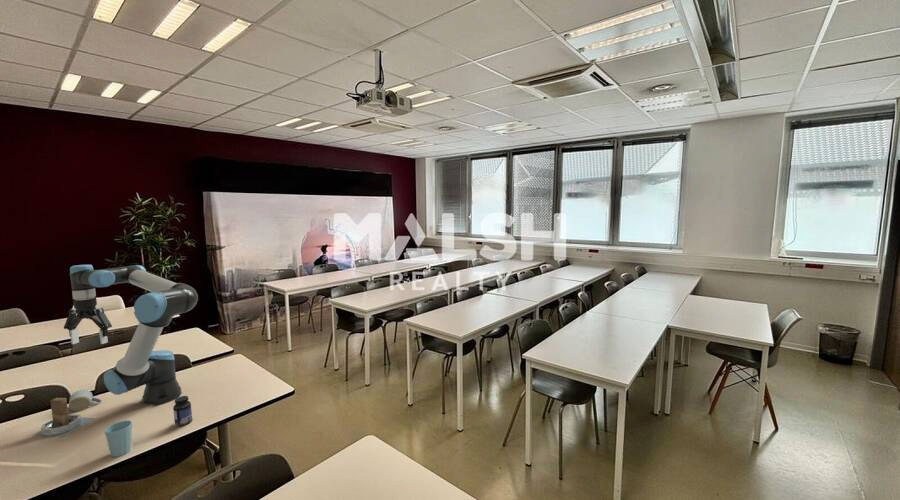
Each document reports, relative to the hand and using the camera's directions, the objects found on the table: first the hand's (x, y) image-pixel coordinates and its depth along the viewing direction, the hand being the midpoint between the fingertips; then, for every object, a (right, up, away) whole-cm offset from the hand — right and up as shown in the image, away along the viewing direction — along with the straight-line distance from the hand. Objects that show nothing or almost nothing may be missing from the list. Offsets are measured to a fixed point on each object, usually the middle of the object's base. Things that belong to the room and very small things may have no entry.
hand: (89, 343), depth 169 cm
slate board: (+6, -32, -16) cm, 36 cm away
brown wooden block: (+6, -30, -17) cm, 35 cm away
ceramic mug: (-3, -30, +1) cm, 31 cm away
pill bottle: (+53, -31, -13) cm, 63 cm away
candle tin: (+6, -31, -17) cm, 36 cm away
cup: (+44, -33, -32) cm, 63 cm away
